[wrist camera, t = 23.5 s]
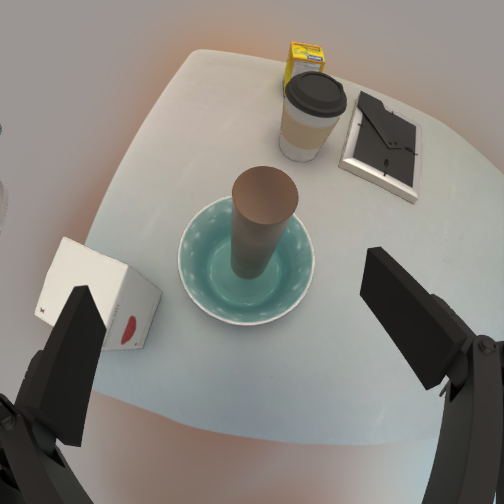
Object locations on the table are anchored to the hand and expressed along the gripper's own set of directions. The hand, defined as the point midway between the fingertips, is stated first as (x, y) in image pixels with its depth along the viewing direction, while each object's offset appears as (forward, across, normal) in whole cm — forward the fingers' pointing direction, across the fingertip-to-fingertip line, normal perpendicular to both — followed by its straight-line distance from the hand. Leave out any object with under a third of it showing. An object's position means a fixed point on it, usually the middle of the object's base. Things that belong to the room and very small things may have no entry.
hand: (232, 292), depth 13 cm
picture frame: (+38, +34, 0) cm, 51 cm away
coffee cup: (+38, +16, 0) cm, 41 cm away
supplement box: (+49, +19, +10) cm, 53 cm away
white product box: (+22, -14, -17) cm, 31 cm away
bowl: (+24, +3, -14) cm, 28 cm away
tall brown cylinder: (+17, +3, -9) cm, 20 cm away
